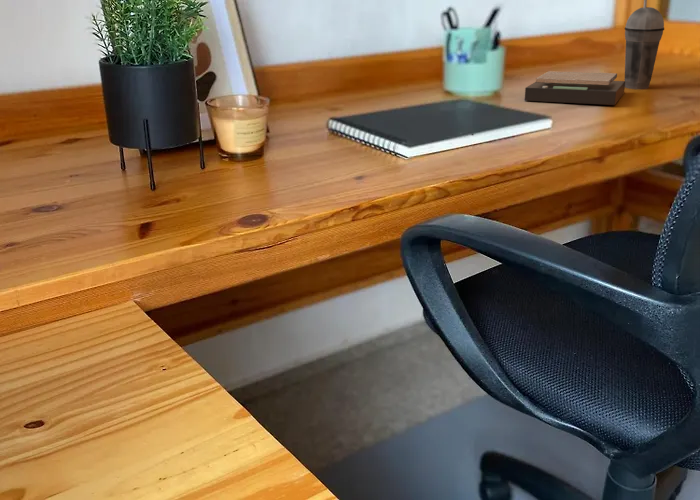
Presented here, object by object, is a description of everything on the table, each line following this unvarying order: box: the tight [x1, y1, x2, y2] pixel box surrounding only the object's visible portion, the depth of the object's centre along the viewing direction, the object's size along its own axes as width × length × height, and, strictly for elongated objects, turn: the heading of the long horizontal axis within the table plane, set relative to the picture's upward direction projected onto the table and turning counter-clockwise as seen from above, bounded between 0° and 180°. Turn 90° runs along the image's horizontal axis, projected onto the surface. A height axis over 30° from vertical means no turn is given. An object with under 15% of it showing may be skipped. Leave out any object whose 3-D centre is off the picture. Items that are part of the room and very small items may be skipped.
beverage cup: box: [623, 0, 665, 90], centre depth 139 cm, size 7×7×20 cm
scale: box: [524, 80, 626, 106], centre depth 135 cm, size 16×14×3 cm
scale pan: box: [535, 70, 618, 85], centre depth 134 cm, size 13×11×1 cm
